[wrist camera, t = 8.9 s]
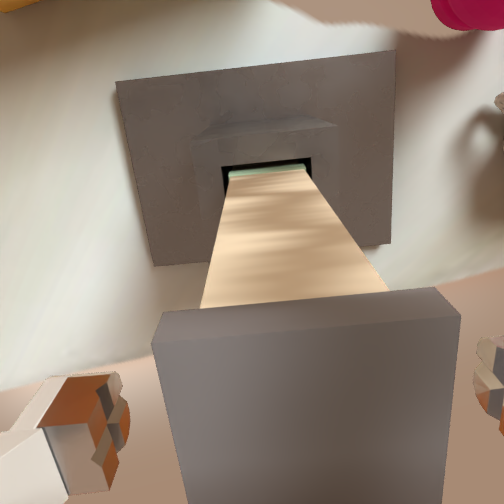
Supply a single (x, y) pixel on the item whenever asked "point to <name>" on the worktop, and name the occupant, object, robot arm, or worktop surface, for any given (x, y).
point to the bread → (14, 4)
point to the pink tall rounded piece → (470, 14)
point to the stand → (261, 143)
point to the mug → (500, 106)
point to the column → (305, 361)
